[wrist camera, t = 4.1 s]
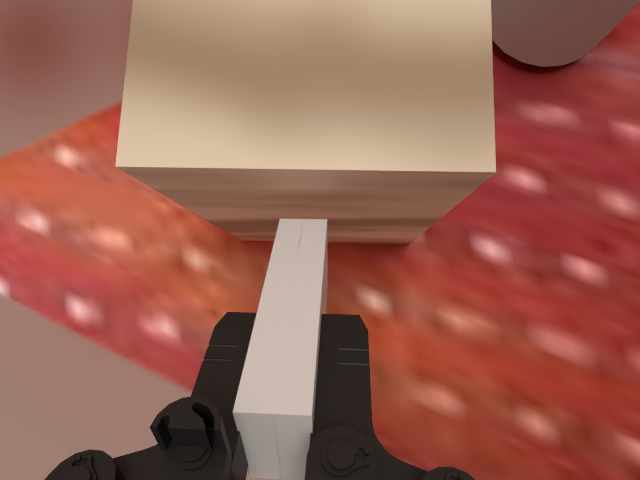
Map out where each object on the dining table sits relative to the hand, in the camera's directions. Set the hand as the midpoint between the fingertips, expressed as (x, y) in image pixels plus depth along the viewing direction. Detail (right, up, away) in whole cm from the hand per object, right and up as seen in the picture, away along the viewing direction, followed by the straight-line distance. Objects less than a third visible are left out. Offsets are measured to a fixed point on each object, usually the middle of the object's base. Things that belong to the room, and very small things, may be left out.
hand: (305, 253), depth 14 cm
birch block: (+1, +3, +11) cm, 12 cm away
